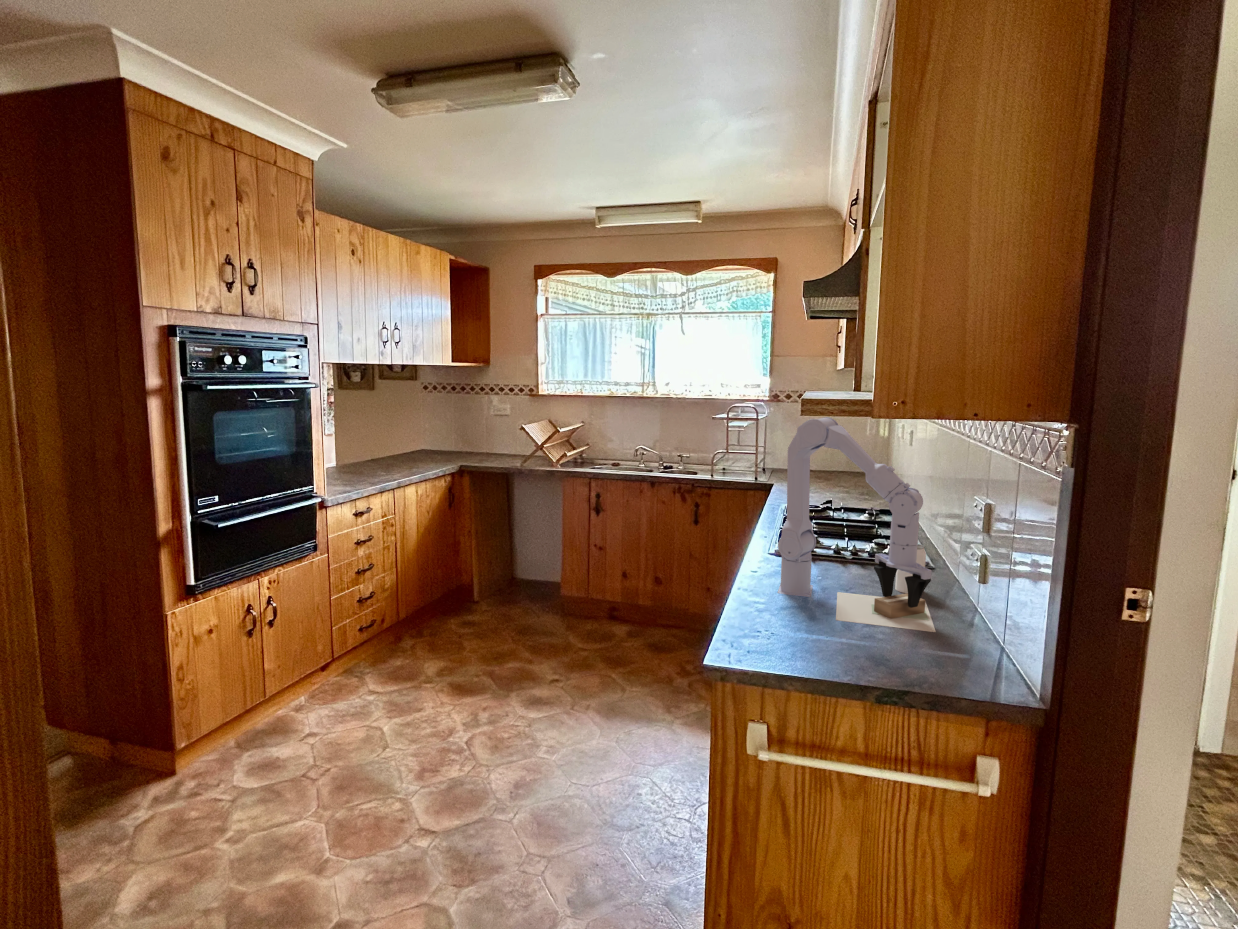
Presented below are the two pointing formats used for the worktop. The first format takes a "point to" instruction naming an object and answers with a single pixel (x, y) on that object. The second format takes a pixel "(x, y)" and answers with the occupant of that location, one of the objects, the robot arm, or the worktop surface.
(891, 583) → the robot arm
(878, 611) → the tissue box
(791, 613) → the worktop surface
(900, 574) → the can
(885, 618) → the mat
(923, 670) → the worktop surface
